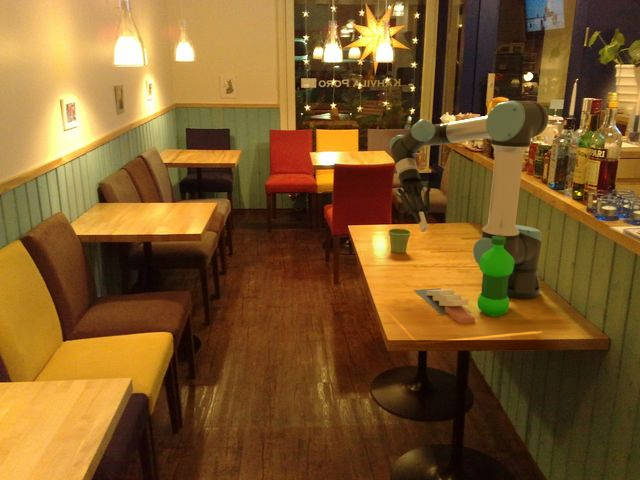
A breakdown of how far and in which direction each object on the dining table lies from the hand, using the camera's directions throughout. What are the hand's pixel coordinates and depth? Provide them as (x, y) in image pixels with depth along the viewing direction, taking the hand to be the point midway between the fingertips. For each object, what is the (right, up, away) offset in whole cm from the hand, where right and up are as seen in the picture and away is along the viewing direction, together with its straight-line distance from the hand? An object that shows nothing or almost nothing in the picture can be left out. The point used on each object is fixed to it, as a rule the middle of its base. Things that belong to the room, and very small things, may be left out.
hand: (424, 229), depth 209 cm
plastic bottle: (+18, -27, -18) cm, 37 cm away
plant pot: (-4, -9, +43) cm, 44 cm away
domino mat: (+3, -24, -10) cm, 26 cm away
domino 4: (+5, -25, -18) cm, 31 cm away
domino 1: (+2, -21, -5) cm, 22 cm away
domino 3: (+4, -24, -14) cm, 28 cm away
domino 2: (+3, -22, -10) cm, 25 cm away
